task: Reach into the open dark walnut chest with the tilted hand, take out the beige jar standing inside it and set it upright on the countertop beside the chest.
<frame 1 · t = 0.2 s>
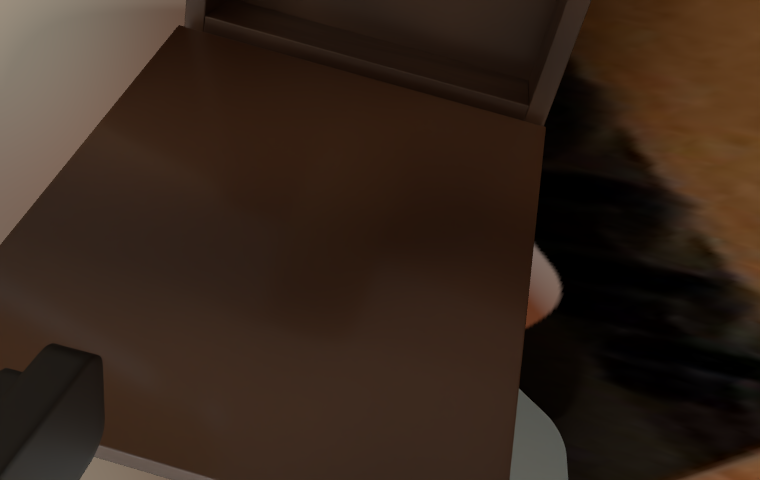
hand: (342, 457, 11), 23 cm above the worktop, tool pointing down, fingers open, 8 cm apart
chest lid: (296, 232, 22), point 12 cm above the worktop, hinge at 105.0°
guitar pedal: (393, 320, 39), on the worktop
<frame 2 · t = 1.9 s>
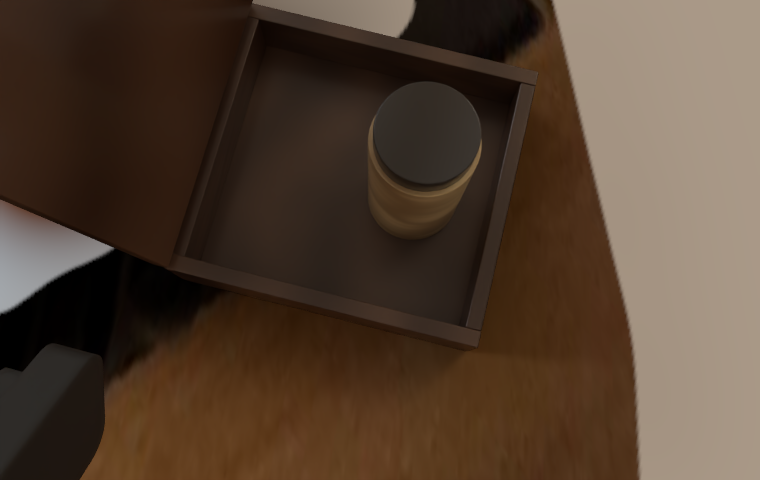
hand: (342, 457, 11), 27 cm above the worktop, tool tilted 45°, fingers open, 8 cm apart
chest lid: (108, 40, 28), point 12 cm above the worktop, hinge at 105.0°
beige jar: (412, 196, 39), point 1 cm above the worktop, touching chest
chest: (358, 187, 40), on the worktop
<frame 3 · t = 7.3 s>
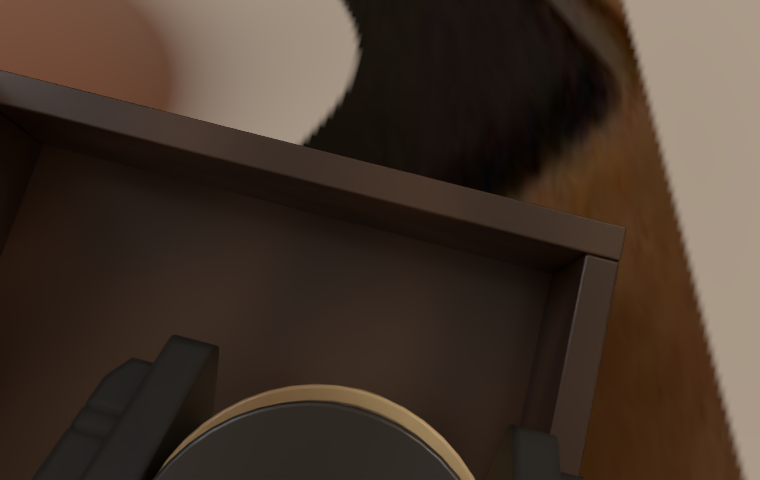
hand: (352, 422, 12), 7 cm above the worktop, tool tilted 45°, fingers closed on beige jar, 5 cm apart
chest: (228, 451, 18), on the worktop
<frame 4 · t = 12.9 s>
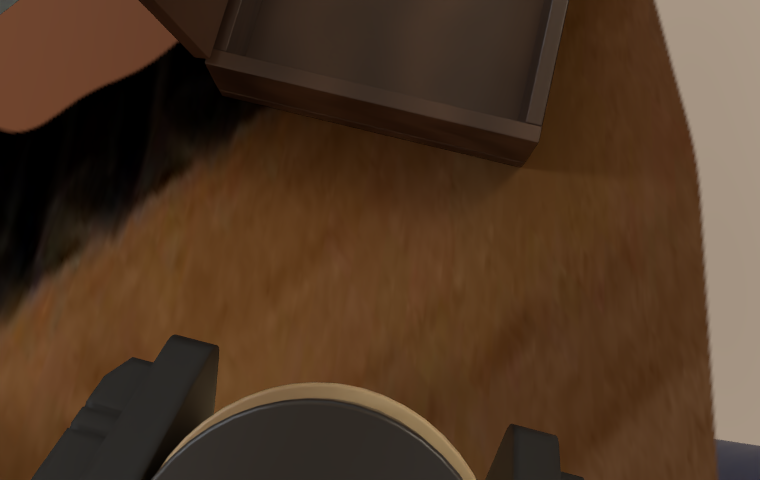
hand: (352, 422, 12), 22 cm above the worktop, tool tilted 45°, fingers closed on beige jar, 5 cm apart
chest: (404, 3, 38), on the worktop
when the fingers open (6 cm above the worktop, at t = 18.4 s): beige jar stays where it is, on the worktop.
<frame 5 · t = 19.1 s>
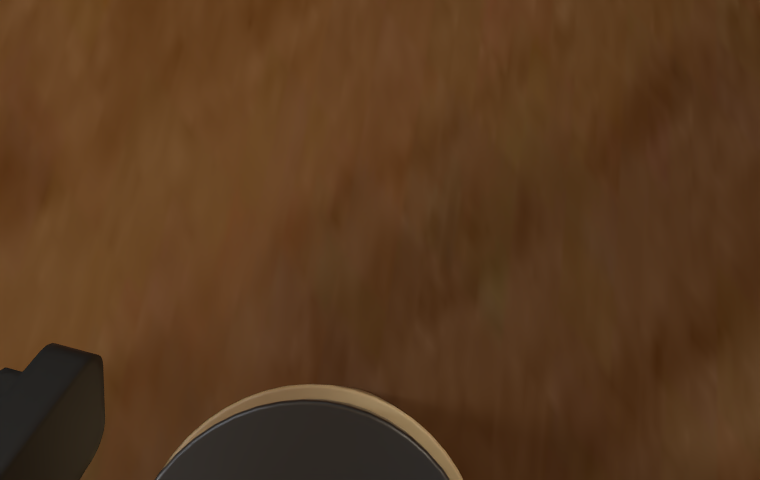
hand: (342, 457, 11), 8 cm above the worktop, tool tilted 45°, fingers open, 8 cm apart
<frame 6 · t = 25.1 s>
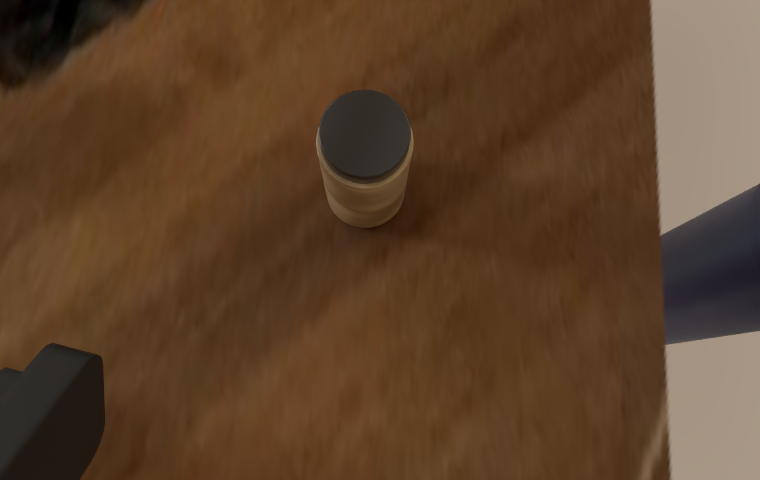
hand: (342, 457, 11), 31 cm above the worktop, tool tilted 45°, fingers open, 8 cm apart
beige jar: (365, 189, 44), on the worktop
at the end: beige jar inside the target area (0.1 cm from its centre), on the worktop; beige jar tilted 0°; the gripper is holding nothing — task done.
